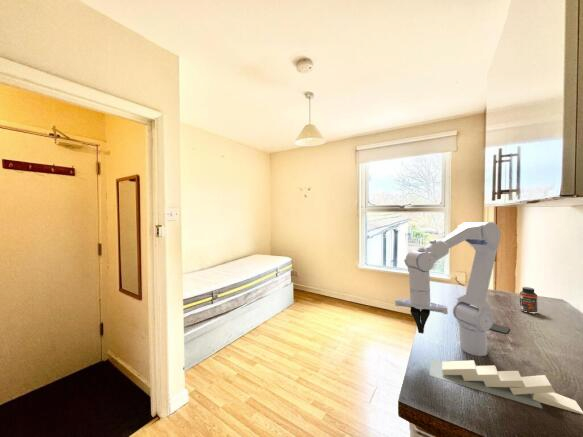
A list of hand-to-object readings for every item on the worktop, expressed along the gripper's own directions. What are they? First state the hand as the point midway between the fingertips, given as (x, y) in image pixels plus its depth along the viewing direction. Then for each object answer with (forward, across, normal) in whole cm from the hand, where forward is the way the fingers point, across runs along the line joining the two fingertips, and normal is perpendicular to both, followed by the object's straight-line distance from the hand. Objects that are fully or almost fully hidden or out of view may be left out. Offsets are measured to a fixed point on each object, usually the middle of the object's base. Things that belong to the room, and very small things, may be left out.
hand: (421, 331), depth 75 cm
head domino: (+8, +6, -4) cm, 10 cm away
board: (+9, +14, -4) cm, 17 cm away
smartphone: (+10, +20, +42) cm, 48 cm away
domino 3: (+8, +20, -4) cm, 22 cm away
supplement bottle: (+10, +39, +70) cm, 81 cm away
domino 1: (+8, +10, -4) cm, 13 cm away
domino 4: (+7, +24, -4) cm, 25 cm away
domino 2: (+8, +15, -4) cm, 17 cm away
